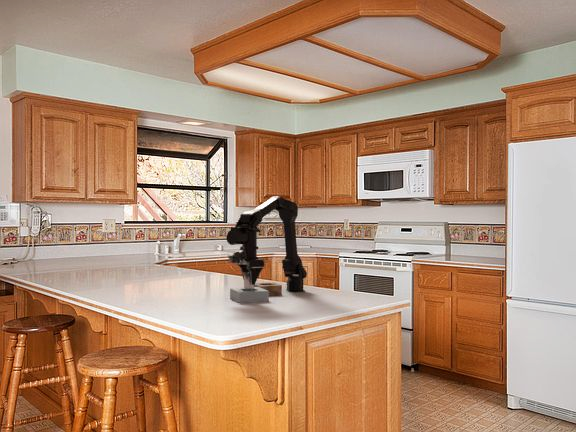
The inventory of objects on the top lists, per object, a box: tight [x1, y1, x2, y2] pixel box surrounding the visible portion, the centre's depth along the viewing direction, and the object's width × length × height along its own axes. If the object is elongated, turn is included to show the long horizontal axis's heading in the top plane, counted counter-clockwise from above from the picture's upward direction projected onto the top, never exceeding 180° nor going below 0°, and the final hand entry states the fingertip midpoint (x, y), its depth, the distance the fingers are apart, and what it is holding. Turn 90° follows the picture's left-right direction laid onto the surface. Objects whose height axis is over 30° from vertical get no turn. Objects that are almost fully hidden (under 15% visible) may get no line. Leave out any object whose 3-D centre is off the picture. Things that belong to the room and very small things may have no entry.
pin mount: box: [254, 281, 283, 296], centre depth 222 cm, size 10×10×4 cm
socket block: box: [229, 287, 270, 304], centre depth 206 cm, size 12×12×4 cm
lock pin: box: [243, 271, 254, 291], centre depth 206 cm, size 5×5×11 cm
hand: (249, 283), depth 206 cm, fingers open, 9 cm apart
